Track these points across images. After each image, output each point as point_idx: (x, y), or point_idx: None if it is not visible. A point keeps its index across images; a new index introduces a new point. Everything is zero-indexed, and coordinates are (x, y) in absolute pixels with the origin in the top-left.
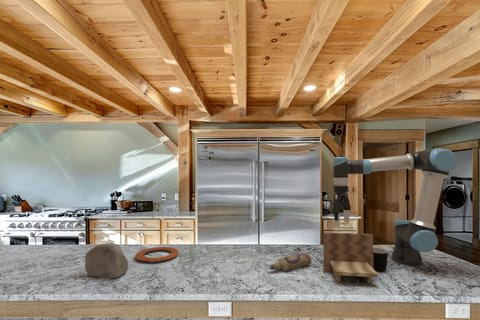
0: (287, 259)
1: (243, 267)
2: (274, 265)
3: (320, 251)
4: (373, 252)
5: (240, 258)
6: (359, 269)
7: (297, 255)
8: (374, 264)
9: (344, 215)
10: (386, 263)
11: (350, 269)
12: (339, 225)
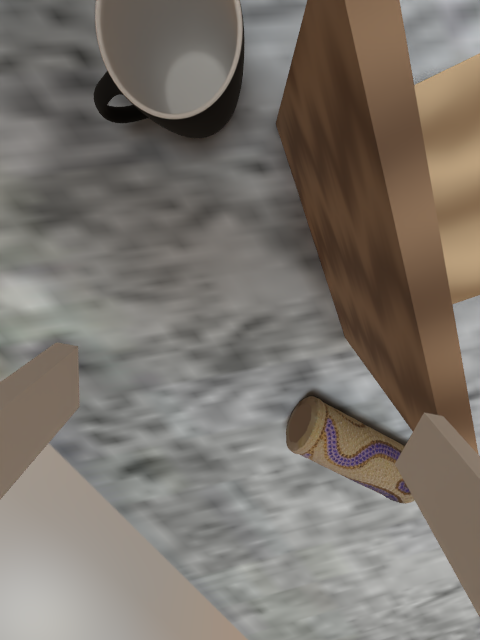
0: None
1: (413, 547)
2: None
3: (109, 393)
4: (237, 71)
5: (341, 573)
6: (460, 165)
7: (358, 464)
8: (237, 100)
9: (1, 485)
10: (205, 7)
11: (475, 215)
12: (454, 430)
